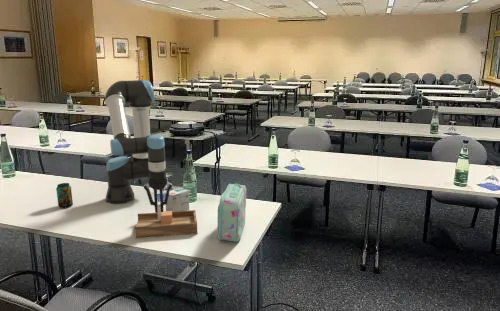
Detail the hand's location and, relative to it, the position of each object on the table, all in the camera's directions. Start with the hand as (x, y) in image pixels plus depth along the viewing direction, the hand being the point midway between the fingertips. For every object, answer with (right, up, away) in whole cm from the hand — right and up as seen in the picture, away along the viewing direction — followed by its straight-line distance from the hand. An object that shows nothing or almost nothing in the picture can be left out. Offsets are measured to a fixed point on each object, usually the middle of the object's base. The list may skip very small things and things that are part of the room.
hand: (159, 218), depth 186 cm
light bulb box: (+5, +1, +20) cm, 20 cm away
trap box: (+4, -4, -1) cm, 6 cm away
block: (+3, -1, +1) cm, 4 cm away
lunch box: (+34, -6, -4) cm, 35 cm away
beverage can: (-55, +2, +25) cm, 60 cm away
